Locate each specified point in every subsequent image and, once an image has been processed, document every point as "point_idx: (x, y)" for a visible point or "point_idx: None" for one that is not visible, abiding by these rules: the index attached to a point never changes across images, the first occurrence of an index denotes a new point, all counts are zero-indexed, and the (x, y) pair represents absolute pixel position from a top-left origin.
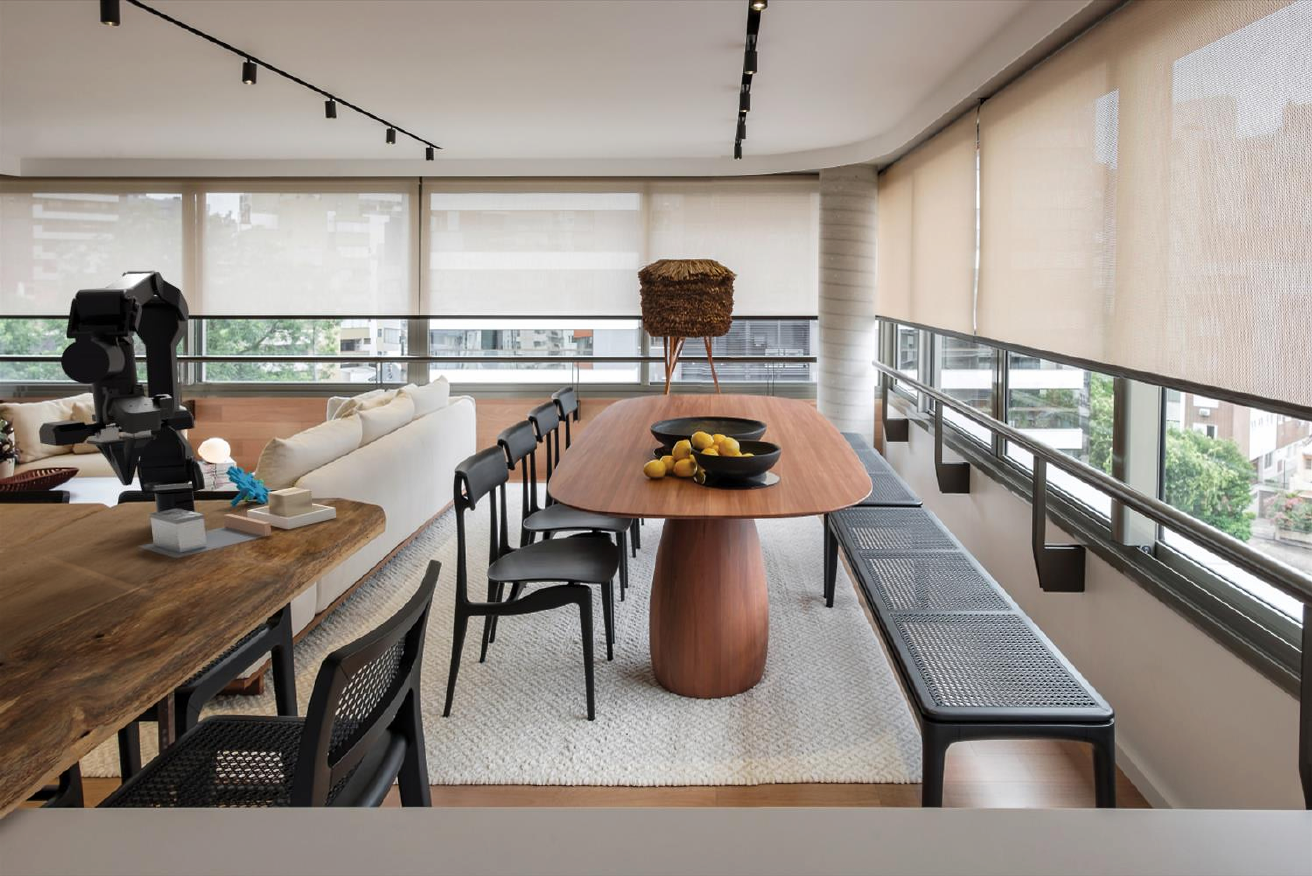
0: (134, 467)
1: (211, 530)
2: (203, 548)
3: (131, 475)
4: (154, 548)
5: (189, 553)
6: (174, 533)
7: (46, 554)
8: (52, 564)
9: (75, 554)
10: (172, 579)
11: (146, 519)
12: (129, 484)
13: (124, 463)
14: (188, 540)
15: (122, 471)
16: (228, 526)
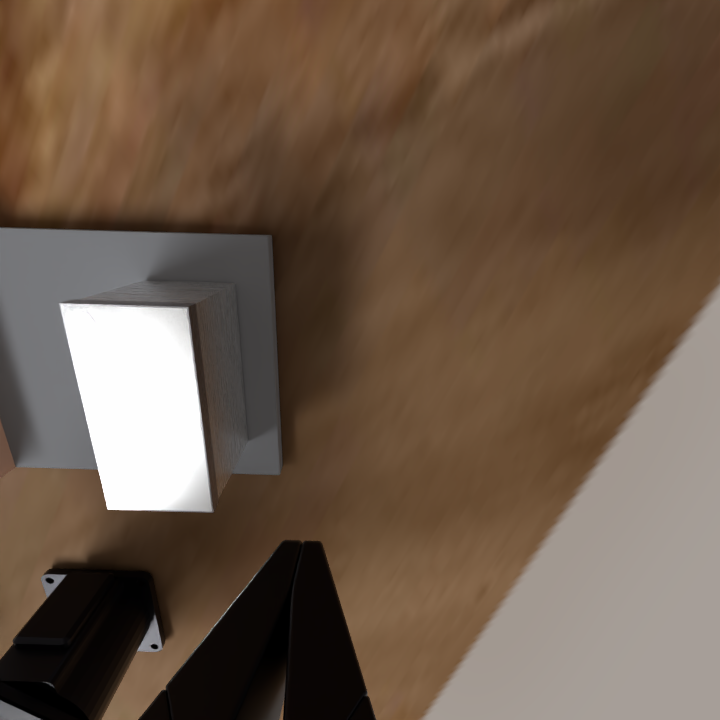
0: (222, 638)
1: (61, 461)
2: (159, 272)
3: (268, 585)
4: (259, 413)
5: (216, 252)
6: (214, 322)
7: (418, 618)
8: (459, 532)
9: (384, 569)
10: (376, 34)
11: (141, 709)
12: (297, 540)
13: (302, 702)
14: (188, 287)
15: (334, 625)
16: (6, 450)
